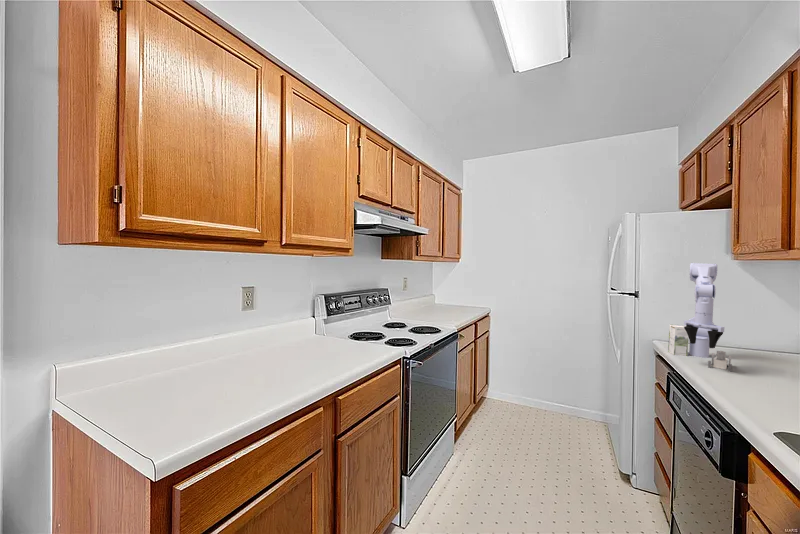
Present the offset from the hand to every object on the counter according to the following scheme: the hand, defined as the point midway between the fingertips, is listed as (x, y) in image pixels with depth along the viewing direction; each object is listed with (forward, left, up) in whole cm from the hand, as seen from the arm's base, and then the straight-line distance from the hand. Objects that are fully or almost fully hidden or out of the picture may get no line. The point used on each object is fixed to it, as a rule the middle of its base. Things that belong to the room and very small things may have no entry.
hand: (702, 345), depth 153 cm
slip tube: (-8, +6, -9) cm, 13 cm away
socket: (-3, +6, -10) cm, 12 cm away
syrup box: (-19, -10, -10) cm, 24 cm away
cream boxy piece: (-11, +6, -10) cm, 16 cm away
